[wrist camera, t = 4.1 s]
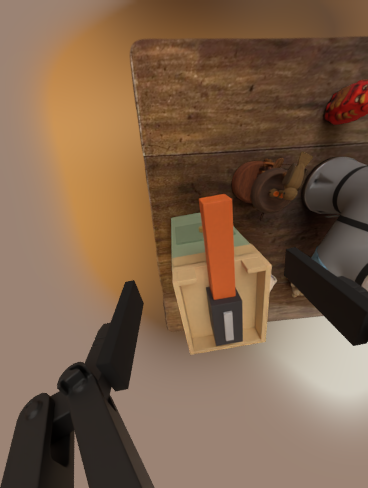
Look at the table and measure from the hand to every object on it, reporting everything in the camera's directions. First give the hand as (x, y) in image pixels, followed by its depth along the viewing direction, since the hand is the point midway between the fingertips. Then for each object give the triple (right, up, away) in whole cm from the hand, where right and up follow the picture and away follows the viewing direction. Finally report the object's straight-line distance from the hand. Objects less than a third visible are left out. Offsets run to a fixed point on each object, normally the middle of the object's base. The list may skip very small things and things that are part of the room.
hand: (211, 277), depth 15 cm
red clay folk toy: (+35, +36, +27) cm, 57 cm away
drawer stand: (+2, +5, +39) cm, 40 cm away
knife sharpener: (+3, -1, +11) cm, 12 cm away
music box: (+16, +20, +33) cm, 42 cm away
